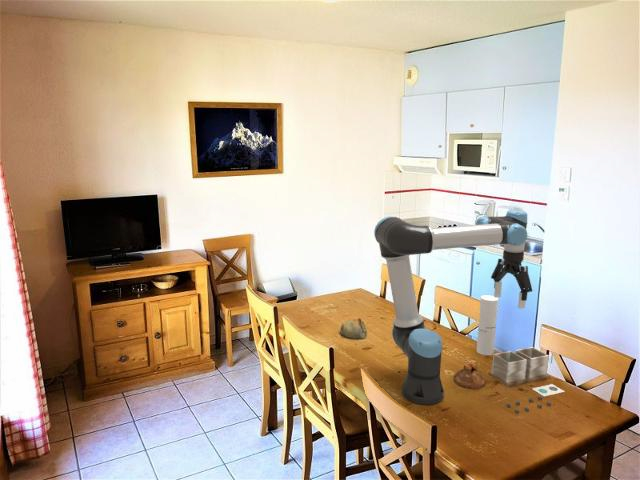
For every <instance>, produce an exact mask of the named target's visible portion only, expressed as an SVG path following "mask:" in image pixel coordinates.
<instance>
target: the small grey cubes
mask: <svg viewBox="0 0 640 480" xmlns="http://www.w3.org/2000/svg"><path fill="white" fill-rule="evenodd" d="M537 400H538V401H542V400H543V396H542V395H538V396H537ZM528 402H529V403H534V400H533V398H531V397H529V398H528ZM511 405H512V404H511V403H509V402H508V403H507V402H506V405H505V406H506V407H507V408H511ZM515 405H517V406H520V405H521V402H520V401H519V400H517V401H515ZM551 405H552V402H550V401H547V402H546V406H548V407H551ZM536 407H537V408H538V409H542V407H543V405H542V404H541V403H537V406H536ZM529 409H530V408H529V407H528V406H525V407H524V411H525V412H529ZM514 413H515V414H517V415H518V414H520V409H518V408H515V409H514Z"/></svg>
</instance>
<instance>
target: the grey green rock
mask: <svg viewBox="0 0 640 480" xmlns="http://www.w3.org/2000/svg"><path fill="white" fill-rule="evenodd" d="M367 333H368V331H367V328H366V325H365V322H364V321H363V320H362V319H361V318H355V319H352V320H348V321H345V322H343V323H341V325H340V334H341V336H343V337H345V338H347V339H348V338H349V339H352V340H365V339H367V337H368V334H367Z"/></svg>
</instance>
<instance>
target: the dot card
mask: <svg viewBox="0 0 640 480" xmlns="http://www.w3.org/2000/svg"><path fill="white" fill-rule="evenodd" d="M531 390H533V391H534V392H535V393H537V394H539V396H541V397H549V396H553V395H558V394H561V393H565V390H563V389H561V388H560V387H558V386H557V385H555V384H553V383H550V384H547V385H542V386H538V387H532V389H531Z"/></svg>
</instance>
